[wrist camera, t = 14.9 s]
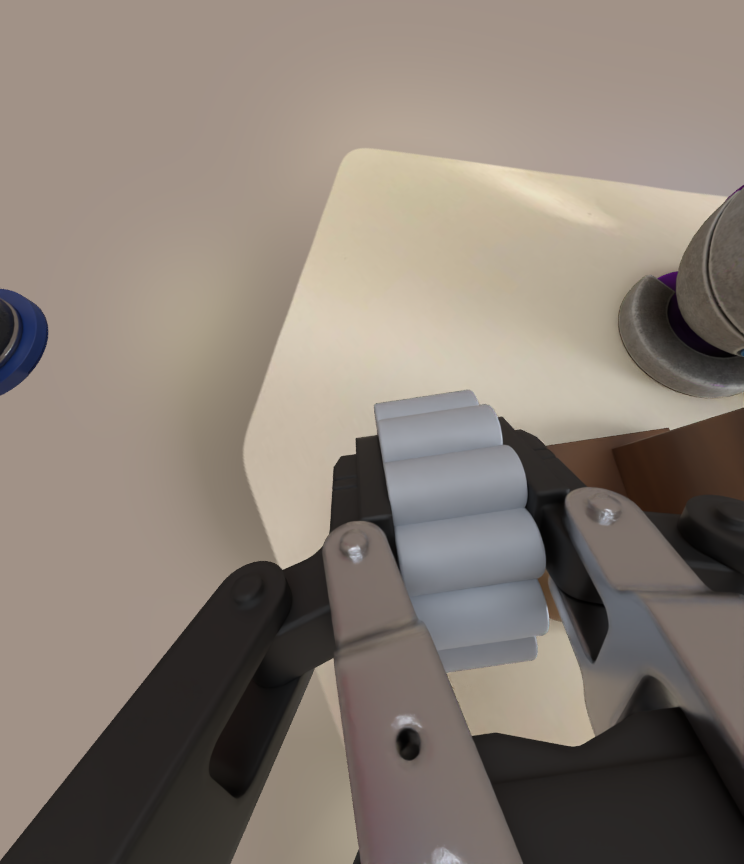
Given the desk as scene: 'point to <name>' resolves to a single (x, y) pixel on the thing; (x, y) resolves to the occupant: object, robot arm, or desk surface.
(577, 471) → the rack
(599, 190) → the desk surface
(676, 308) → the webcam
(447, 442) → the grey scalloped ring
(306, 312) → the desk surface
